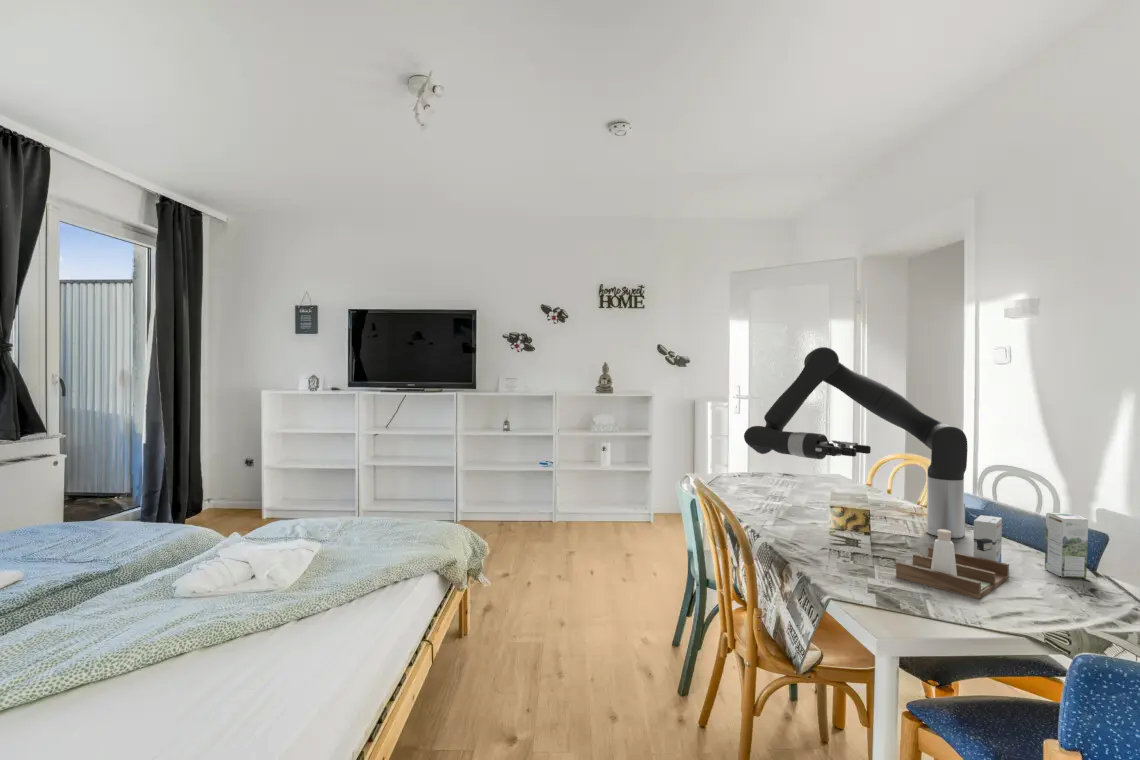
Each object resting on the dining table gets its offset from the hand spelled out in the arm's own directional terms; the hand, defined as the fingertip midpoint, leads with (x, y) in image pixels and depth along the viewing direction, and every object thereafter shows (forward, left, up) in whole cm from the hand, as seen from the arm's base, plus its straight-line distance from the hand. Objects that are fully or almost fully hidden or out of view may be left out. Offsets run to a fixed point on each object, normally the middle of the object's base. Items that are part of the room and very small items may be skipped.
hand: (863, 451), depth 160 cm
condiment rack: (-1, +25, -27) cm, 37 cm away
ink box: (-19, +22, -28) cm, 40 cm away
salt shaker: (+4, +26, -26) cm, 37 cm away
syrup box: (-29, +34, -28) cm, 52 cm away
